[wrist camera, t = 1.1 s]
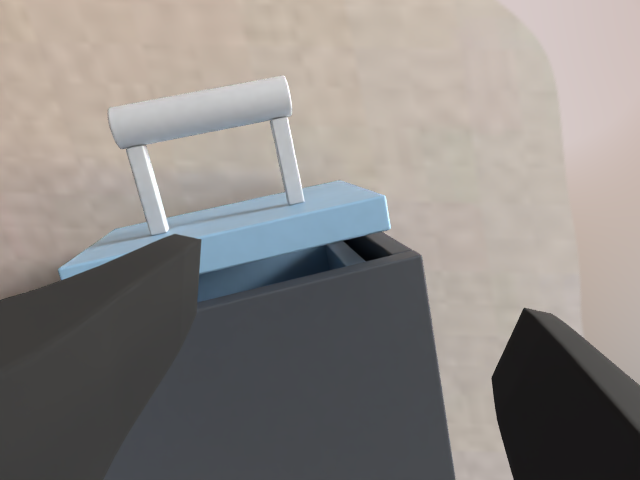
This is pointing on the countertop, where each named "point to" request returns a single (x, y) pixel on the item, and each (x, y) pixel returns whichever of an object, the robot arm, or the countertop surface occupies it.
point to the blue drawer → (242, 217)
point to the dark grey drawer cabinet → (303, 382)
